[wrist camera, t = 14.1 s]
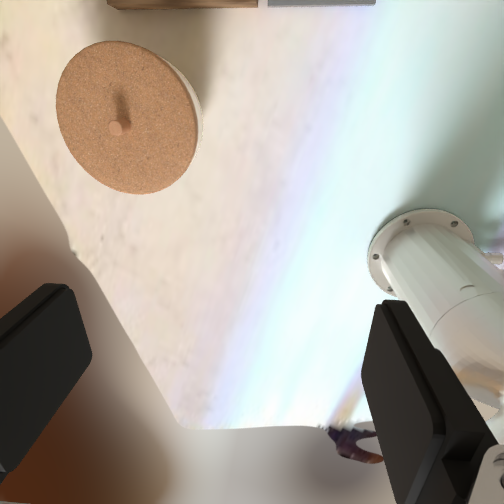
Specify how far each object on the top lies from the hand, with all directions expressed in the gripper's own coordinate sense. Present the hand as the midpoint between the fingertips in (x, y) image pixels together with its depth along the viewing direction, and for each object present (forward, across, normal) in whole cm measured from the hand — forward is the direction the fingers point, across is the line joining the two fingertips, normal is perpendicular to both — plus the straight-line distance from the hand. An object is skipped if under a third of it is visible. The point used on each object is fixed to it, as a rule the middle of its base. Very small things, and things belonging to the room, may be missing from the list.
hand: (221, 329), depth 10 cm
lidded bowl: (+31, +12, -4) cm, 33 cm away
